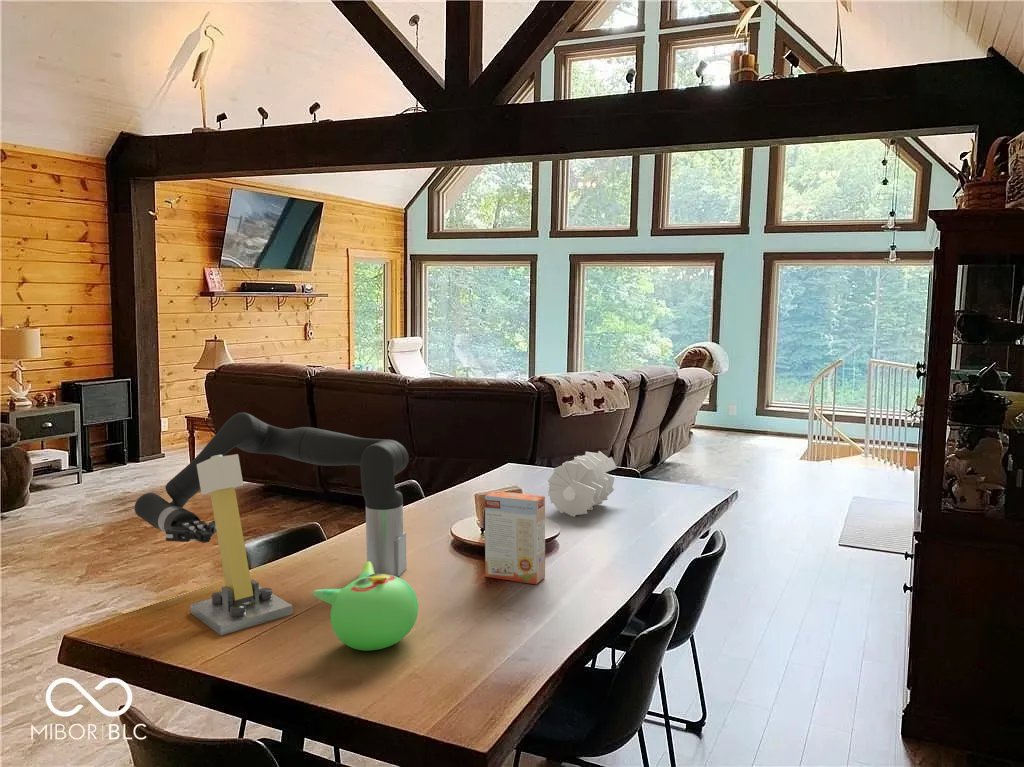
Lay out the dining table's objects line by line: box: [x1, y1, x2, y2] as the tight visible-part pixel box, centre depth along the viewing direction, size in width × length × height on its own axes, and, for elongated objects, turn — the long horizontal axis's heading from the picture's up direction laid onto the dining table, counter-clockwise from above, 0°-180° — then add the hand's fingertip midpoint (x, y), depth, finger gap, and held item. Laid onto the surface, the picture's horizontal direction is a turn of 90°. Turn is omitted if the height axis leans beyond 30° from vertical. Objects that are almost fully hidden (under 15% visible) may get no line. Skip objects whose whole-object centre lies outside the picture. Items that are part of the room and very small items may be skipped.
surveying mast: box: [197, 453, 253, 605], centre depth 173 cm, size 9×6×33 cm, turn 43°
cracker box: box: [484, 490, 546, 585], centre depth 192 cm, size 14×6×21 cm, turn 65°
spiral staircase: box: [547, 450, 618, 518], centre depth 255 cm, size 18×18×25 cm
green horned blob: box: [312, 561, 419, 651], centre depth 156 cm, size 18×17×15 cm
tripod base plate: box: [189, 578, 294, 636], centre depth 171 cm, size 16×16×6 cm
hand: (206, 538), depth 183 cm, fingers closed
